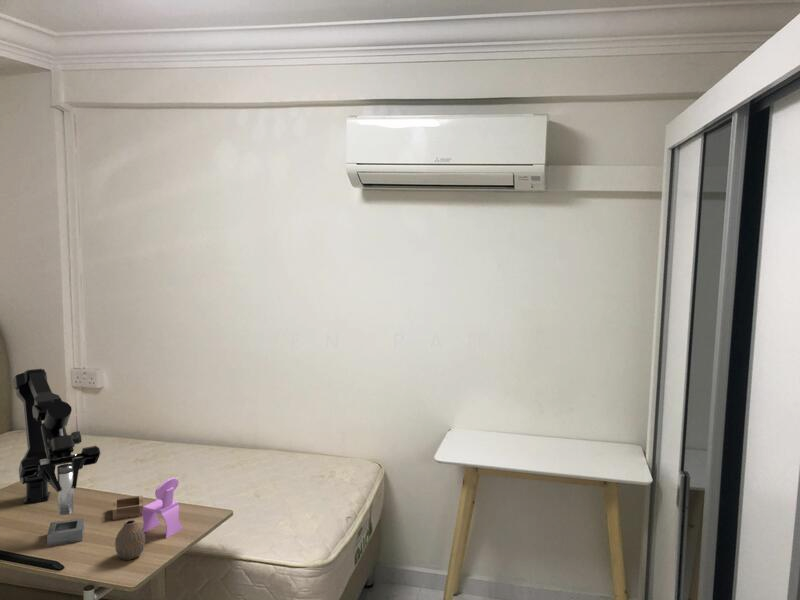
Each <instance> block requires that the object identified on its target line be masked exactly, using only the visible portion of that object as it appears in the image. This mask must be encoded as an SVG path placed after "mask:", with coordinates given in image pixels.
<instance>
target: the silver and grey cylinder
mask: <svg viewBox="0 0 800 600" xmlns="http://www.w3.org/2000/svg"><path fill="white" fill-rule="evenodd" d="M56 467H57V469H56V470H57V471H56V472H57V473H56V474H57V476H56V478H57V481H58V484H59V489H60V490H59V492H57V513H58V515H60V516H65V515H70V514H72V513H74V510H75V509H74V505H75V503H74V487H73V465H72V464H71V463H65V464H60V465H57V466H56Z"/></svg>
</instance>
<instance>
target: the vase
mask: <svg viewBox="0 0 800 600" xmlns="http://www.w3.org/2000/svg"><path fill="white" fill-rule="evenodd" d="M145 546H146V535H145V533H144V532H143V528H141V527H140V526H139V525H138V524H137V522H136V521H135V520H133V519H131V520H130V519H129V520H126V521H125V522H124V524H123V526H122V527H121V528H120V530H119V531H118V533H117V534H116V537H115V541H114V548H115V553H116V554H117V556H118V557H119V558H120V559H122V560H125V561H129V560H130V561H131V560H133V559H136V558H138V557H139V556H141V554H142V553H143V551H144V549H145Z"/></svg>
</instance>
